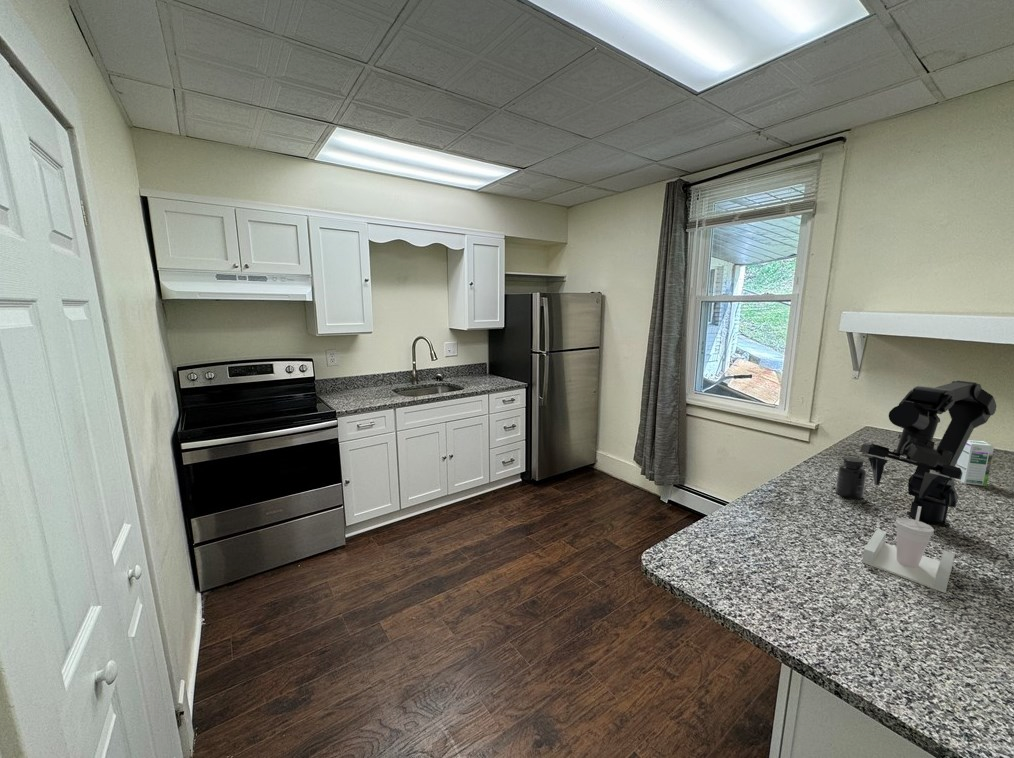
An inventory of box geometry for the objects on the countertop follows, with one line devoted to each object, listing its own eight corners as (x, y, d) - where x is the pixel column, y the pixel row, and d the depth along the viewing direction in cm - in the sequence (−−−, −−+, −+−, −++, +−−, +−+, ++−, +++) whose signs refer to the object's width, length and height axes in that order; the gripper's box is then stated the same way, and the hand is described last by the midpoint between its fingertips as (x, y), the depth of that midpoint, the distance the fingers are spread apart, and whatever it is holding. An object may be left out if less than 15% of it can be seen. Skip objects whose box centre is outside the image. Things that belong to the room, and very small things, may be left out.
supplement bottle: (856, 491, 134) (862, 457, 132) (867, 501, 127) (873, 464, 125) (831, 488, 136) (836, 454, 134) (840, 497, 130) (845, 461, 128)
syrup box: (964, 483, 140) (972, 443, 138) (953, 477, 146) (961, 438, 143) (986, 486, 138) (995, 445, 136) (974, 479, 144) (983, 440, 141)
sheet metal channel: (874, 541, 105) (877, 529, 105) (952, 567, 95) (955, 553, 94) (861, 562, 96) (864, 548, 96) (945, 593, 86) (948, 578, 85)
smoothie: (934, 568, 93) (945, 512, 91) (913, 573, 92) (925, 515, 89) (901, 552, 99) (911, 499, 97) (881, 556, 98) (891, 502, 96)
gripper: (888, 423, 102) (868, 482, 102) (987, 449, 95) (965, 512, 95) (868, 422, 112) (850, 476, 113) (956, 446, 105) (937, 503, 105)
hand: (898, 491), depth 106 cm, fingers open, 9 cm apart
